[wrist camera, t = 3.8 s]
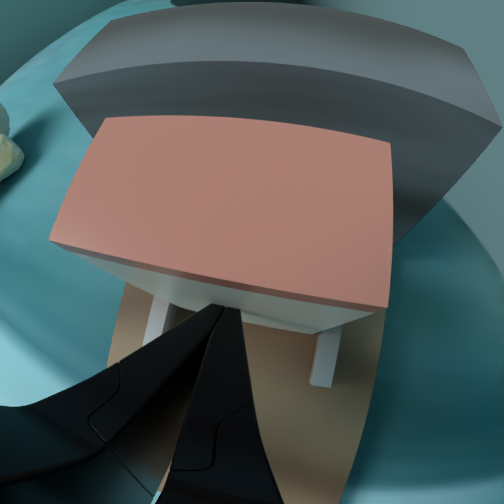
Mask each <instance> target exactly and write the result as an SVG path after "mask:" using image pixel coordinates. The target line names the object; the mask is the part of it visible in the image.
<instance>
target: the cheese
mask: <svg viewBox="0 0 504 504" xmlns="http://www.w3.org/2000/svg"><path fill="white" fill-rule="evenodd" d="M9 131H10V127H9V115H8V114H7V111H6V109H5V108H4V106H3V105H2V104H1V103H0V183H1V182H2V180H3V179H5V178H7V177H8V176H9V175H11V174H12V173H14V172H15V171H17V170H18V169H19V168H20V167H21V165H22V163H23V160H24V154H23V152H22V151H21V149H20V148H19V147H18V146H17V144H15V143H14V142H13V141H12V140H11V139H10V138H9V137H8V135H9Z"/></svg>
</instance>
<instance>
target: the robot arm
mask: <svg viewBox="0 0 504 504" xmlns="http://www.w3.org/2000/svg"><path fill="white" fill-rule="evenodd" d="M171 461H172V462H171ZM170 463H171V466H170V471H169V473H168V476H167V479H166V482H165V485H164V487H163V490H162V492H161V494H160V496H159V498H158V499H157V501H156V503H155V504H284V501H283V499H282V497H281V494H280V491H279V489H278V486H277V483H276V480H275V478H274V475H273V472H272V469H271V467H270V464H269V461H268V458H267V455H266V452H265V449H264V446H263V442H262V439H261V435H260V431H259V426H258V421H257V416H256V410H255V404H254V398H253V391H252V385H251V378H250V372H249V365H248V358H247V351H246V344H245V337H244V330H243V323H242V316H241V310H240V309H237V308H232V307H226V308H225V306H223V305H218V304H213V303H211V304H209V305H207V306H206V307H204V308H203V309H201V310H200V311H198V312H196V313H195V314H193V315H192V316H190V317H189V318H187V319H185V320H184V321H182V322H181V323H179V324H177V325H176V326H174V327H173V328H171V329H170V330H168V331H166V332H165V333H163V334H162V335H160V336H158V337H157V338H155V339H154V340H152V341H150V342H149V343H147V344H146V345H144V346H142V347H141V348H139V349H138V350H136V351H134V352H133V353H131V354H129V355H128V356H126V357H125V358H123V359H121V360H120V361H119V363H118V362H116V363H115V364H113V365H111V366H110V367H108V368H106V369H105V370H103V371H101V372H99V373H98V374H96V375H94V376H92V377H90V378H88V379H86V380H84V381H82V382H80V383H78V384H76V385H74V386H72V387H70V388H68V389H65V390H63V391H61V392H59V393H56V394H54V395H52V396H49V397H47V398H45V399H43V400H40V401H38V402H35V403H33V404H30V405H26V406H19V407H8V406H0V504H151V502H152V500H153V497H154V496H155V494H156V492H157V490H158V488H159V486H160V484H161V482H162V480H163V478H164V476H165V473H166V471H167V469H168V467H169V465H170Z"/></svg>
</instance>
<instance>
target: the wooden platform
mask: <svg viewBox="0 0 504 504" xmlns="http://www.w3.org/2000/svg"><path fill="white" fill-rule="evenodd" d="M53 85H54V86H55V88H56V89H57V91H58V92H59V93H60V95H61V96H62V98H63V99H64V100H65V102H66V103H67V104H68V106H69V107H70V108H71V110H72V111H73V112H74V114H75V115H76V117H77V118H78V119H79V121H80V122H81V123H82V125H83V126H84V127H85V128H86V130H87V131H88V132H89V134H90V135H91V136H92V138H93V139H94V137H95V135H96V134H97V132H98V130H99V128H100V127H101V125H102V123H103V122H104V120H105V118H111V117H128V116H160V115H180V116H213V117H230V118H244V119H255V120H265V121H274V122H282V123H290V124H297V125H304V126H310V127H316V128H322V129H328V130H333V131H339V132H344V133H349V134H354V135H358V136H363V137H367V138H372V139H376V140H380V141H384V142H388V143H390V146H391V160H392V180H393V245H392V247H393V246H394V245H395V244H396V243H397V242H398V241H399V240H400V239H401V238H402V237H404V236H405V235H406V234H407V233H408V232H409V231H410V230H411V229H412V228H413V227H414V226H415V225H416V224H417V223H418V222H419V221H420V220H421V219H422V218H423V217H424V216H425V215H426V214H427V213H428V212H429V211H430V210H431V209H432V208H433V207H434V206H435V205H436V204H437V202H438V201H439V200H440V199H441V198H442V197H443V196H444V195H445V194H446V193H447V192H448V191H449V190H450V189H451V188H452V186H453V185H454V184H455V183H456V182H457V181H458V180H459V179H460V178H461V177H462V175H463V174H464V173H465V172H466V171H467V170H468V169H469V167H470V166H471V165H472V164H473V163H474V162H475V161H476V159H477V158H478V157H479V156H480V154H481V153H482V152H483V151H484V150H485V149H486V147H487V146H488V145H489V144H490V143H491V141H492V140H493V139H494V138H495V136H496V135H497V134H498V132H499V131H500V130H501V129H502V125H501V122H500V120H499V117H498V115H497V113H496V110H495V108H494V106H493V104H492V102H491V99H490V97H489V95H488V93H487V91H486V89H485V87H484V85H483V83H482V81H481V79H480V77H479V75H478V73H477V72H476V70H475V68H474V66H473V64H472V63H471V61H470V59H469V58H468V56H467V54H466V53H465V51H464V49H463V48H461V47H459V46H456V45H454V44H452V43H450V42H447V41H445V40H442V39H440V38H437V37H435V36H432V35H430V34H427V33H424V32H421V31H419V30H415V29H413V28H409V27H407V26H403V25H400V24H397V23H394V22H390V21H386V20H383V19H379V18H375V17H370V16H367V15H362V14H358V13H352V12H347V11H343V10H337V9H331V8H324V7H317V6H309V5H299V4H287V3H270V2H269V3H268V2H229V3H211V4H198V5H190V6H181V7H174V8H167V9H161V10H155V11H150V12H145V13H140V14H136V15H131V16H127V17H123V18H119V19H115V20H112V21H110V22H109V23H108V24H107V25H106V26H105V27H104V28H103V29H102V30H101V31H99V32H98V33H97V34H96V35H95V36H94V37H93V38H92V39H91V40H90V41H89V42H88V44H87V45H86V46H85V47H84V48H83V49H82V50H81V51H80V52H79V53H78V54H77V55H76V56H75V58H74V59H73V60H72V61H71V62H70V63H69V64H68V66H67V67H66V68H65V69H64V70H63V71H62V73H61V74H60V75H59V76H58V78H57V79H56V80H55V81H54V83H53ZM195 313H196V311H192V310H188V309H184V308H181V307H179V306H177V305H174V304H172V303H170V302H168V301H165V300H163V299H161V298H159V297H157V296H155V295H153V294H150V293H148V292H146V291H144V290H142V289H140V288H138V287H136V286H134V285H132V284H130V283H128V282H126V285H125V288H124V292H123V296H122V300H121V304H120V308H119V312H118V316H117V320H116V324H115V329H114V333H113V338H112V343H111V347H110V352H109V357H108V363H107V368H108V367H110V366H111V365H113V364H115V363H116V362H118V363H119V361H120V360H121V359H123V358H125V357H126V356H128V355H129V354H131V353H133V352H134V351H136V350H138V349H139V348H141V347H142V346H144V345H146V344H147V343H149V342H150V341H152V340H154V339H155V338H157V337H158V336H160V335H162V334H163V333H165V332H166V331H168V330H170V329H171V328H173V327H174V326H176V325H177V324H179V323H181V322H182V321H184V320H185V319H187V318H189V317H190V316H192V315H193V314H195ZM385 316H386V309H383V310H381V311H378V312H376V313H373V314H370V315H367V316H365V317H362V318H359V319H356V320H353V321H350V322H348V323H345V324H342V325H339V326H336V327H333V328H330V329H327V330H323V331H320V332H317V333H314V334H306V333H300V332H294V331H288V330H283V329H277V328H272V327H266V326H261V325H256V324H251V323H246V322H242V323H243V330H244V337H245V344H246V351H247V358H248V365H249V372H250V378H251V385H252V391H253V398H254V404H255V410H256V416H257V421H258V426H259V431H260V435H261V439H262V442H263V446H264V449H265V452H266V455H267V458H268V461H269V464H270V467H271V469H272V472H273V475H274V478H275V480H276V483H277V486H278V489H279V491H280V494H281V497H282V499H283V501H284V504H339V501H340V499H341V496H342V493H343V491H344V488H345V485H346V483H347V480H348V477H349V474H350V471H351V468H352V465H353V462H354V459H355V456H356V453H357V450H358V446H359V443H360V439H361V436H362V432H363V429H364V425H365V421H366V417H367V413H368V409H369V405H370V401H371V397H372V392H373V387H374V383H375V378H376V373H377V367H378V362H379V356H380V350H381V344H382V338H383V331H384V323H385ZM171 462H172V461H171ZM170 466H171V463H170V465H169V467H168V469H167V471H166V473H165V476H164V478H163V480H162V482H161V484H160V486H159V488H158V491H161V492H162V490H163V487H164V485H165V482H166V479H167V476H168V473H169V471H170Z"/></svg>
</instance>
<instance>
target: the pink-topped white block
mask: <svg viewBox="0 0 504 504" xmlns="http://www.w3.org/2000/svg"><path fill="white" fill-rule="evenodd" d="M49 241H51V242H53V243H54V244H56V245H58V246H60V247H61V248H63V249H65V250H67V251H68V252H70V253H72V254H74V255H76V256H77V257H79V258H81V259H83V260H85V261H87V262H89V263H90V264H92V265H94V266H96V267H98V268H100V269H102V270H104V271H106V272H108V273H110V274H112V275H114V276H116V277H117V278H119V279H121V280H123V281H126V282H128V283H130V284H132V285H134V286H136V287H138V288H140V289H142V290H144V291H146V292H148V293H150V294H153V295H155V296H157V297H159V298H161V299H163V300H165V301H168V302H170V303H172V304H174V305H177V306H179V307H181V308H184V309H188V310H192V311H196V312H198V311H200V310H201V309H203V308H204V307H206V306H207V305H209V304H211V303H213V304H218V305H223V306H225V308H226V307H232V308H237V309H240V310H241V316H242V322H246V323H251V324H256V325H261V326H266V327H272V328H277V329H283V330H288V331H294V332H300V333H306V334H314V333H317V332H320V331H323V330H327V329H330V328H333V327H336V326H339V325H342V324H345V323H348V322H350V321H353V320H356V319H359V318H362V317H365V316H367V315H370V314H373V313H376V312H378V311H381V310H383V309H386V308H388V301H389V291H390V280H391V265H392V245H393V180H392V160H391V146H390V143H388V142H384V141H380V140H376V139H372V138H367V137H363V136H358V135H354V134H349V133H344V132H339V131H333V130H328V129H322V128H316V127H310V126H304V125H297V124H290V123H282V122H274V121H265V120H255V119H244V118H230V117H213V116H180V115H160V116H128V117H111V118H105V120H104V122H103V123H102V125H101V127H100V128H99V130H98V132H97V134H96V135H95V137H94V139H93V141H92V143H91V145H90V146H89V148H88V150H87V152H86V154H85V156H84V158H83V160H82V162H81V164H80V166H79V168H78V170H77V172H76V174H75V176H74V178H73V180H72V183H71V185H70V187H69V189H68V192H67V194H66V196H65V198H64V201H63V203H62V206H61V208H60V211H59V213H58V216H57V218H56V221H55V223H54V226H53V229H52V231H51V234H50V237H49Z"/></svg>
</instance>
